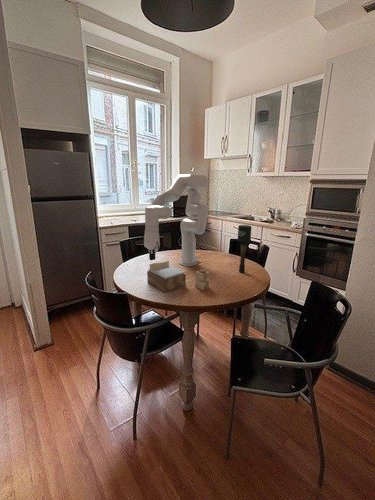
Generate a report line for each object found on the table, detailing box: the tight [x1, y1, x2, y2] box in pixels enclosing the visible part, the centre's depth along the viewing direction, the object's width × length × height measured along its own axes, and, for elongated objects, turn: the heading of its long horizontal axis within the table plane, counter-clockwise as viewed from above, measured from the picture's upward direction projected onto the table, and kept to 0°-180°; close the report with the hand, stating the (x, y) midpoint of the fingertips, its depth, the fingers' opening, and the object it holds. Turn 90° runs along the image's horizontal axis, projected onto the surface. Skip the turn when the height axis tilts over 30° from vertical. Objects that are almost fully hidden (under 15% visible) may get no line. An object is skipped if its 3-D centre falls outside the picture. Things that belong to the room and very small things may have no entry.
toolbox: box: [146, 270, 187, 294], centre depth 140 cm, size 14×17×7 cm
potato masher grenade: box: [236, 224, 253, 274], centre depth 157 cm, size 8×9×30 cm
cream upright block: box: [195, 268, 210, 291], centre depth 137 cm, size 5×5×10 cm
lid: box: [147, 259, 185, 279], centre depth 139 cm, size 13×16×4 cm
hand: (152, 259), depth 147 cm, fingers closed
